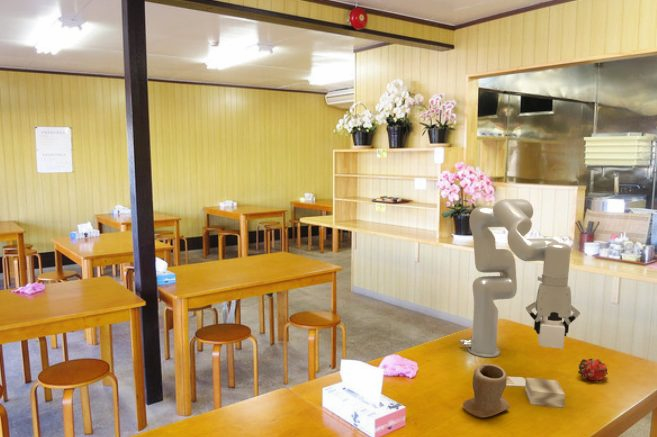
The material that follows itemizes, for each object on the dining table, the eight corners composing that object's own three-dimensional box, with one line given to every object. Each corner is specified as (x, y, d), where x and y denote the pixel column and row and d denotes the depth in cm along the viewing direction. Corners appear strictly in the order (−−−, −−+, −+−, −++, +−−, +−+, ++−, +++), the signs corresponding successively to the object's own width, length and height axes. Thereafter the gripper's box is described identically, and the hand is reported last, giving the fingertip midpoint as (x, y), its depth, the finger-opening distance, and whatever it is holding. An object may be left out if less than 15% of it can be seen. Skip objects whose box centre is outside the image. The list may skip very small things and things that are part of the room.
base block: (530, 405, 162) (531, 391, 162) (524, 391, 172) (525, 377, 172) (563, 409, 161) (565, 394, 160) (556, 394, 170) (557, 380, 170)
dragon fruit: (575, 384, 181) (601, 385, 184) (592, 379, 174) (619, 380, 177) (568, 360, 185) (594, 362, 189) (585, 354, 178) (612, 356, 182)
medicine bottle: (560, 341, 166) (563, 306, 165) (563, 349, 159) (566, 312, 158) (537, 338, 168) (539, 304, 167) (539, 346, 162) (541, 310, 160)
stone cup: (485, 426, 149) (488, 378, 147) (457, 408, 159) (459, 363, 157) (520, 414, 156) (523, 368, 154) (491, 397, 167) (494, 354, 165)
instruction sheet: (500, 385, 176) (500, 384, 176) (495, 376, 182) (495, 375, 182) (529, 386, 175) (529, 385, 175) (523, 377, 182) (523, 377, 182)
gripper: (528, 282, 159) (524, 335, 162) (587, 286, 156) (582, 340, 158) (524, 276, 167) (520, 327, 169) (581, 280, 163) (576, 332, 165)
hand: (550, 333), depth 163 cm, fingers closed on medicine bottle, 7 cm apart
